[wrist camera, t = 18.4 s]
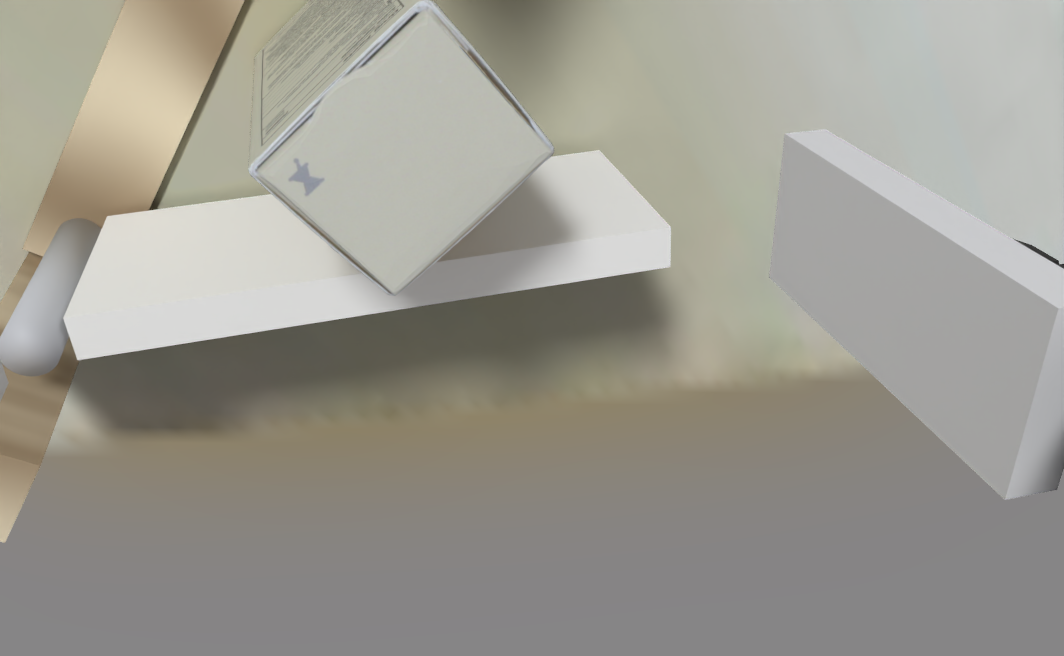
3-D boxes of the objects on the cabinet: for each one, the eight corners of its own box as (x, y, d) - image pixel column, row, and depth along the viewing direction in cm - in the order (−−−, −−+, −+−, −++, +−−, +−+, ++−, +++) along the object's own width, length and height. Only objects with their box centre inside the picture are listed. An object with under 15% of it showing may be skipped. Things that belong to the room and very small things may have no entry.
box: (351, 156, 30) (382, 313, 21) (248, 55, 28) (230, 178, 19) (474, 43, 30) (564, 153, 20) (377, -70, 27) (426, -7, 18)
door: (72, 288, 30) (19, 411, 24) (50, 220, 29) (-12, 330, 23) (600, 211, 33) (673, 303, 27) (599, 147, 32) (674, 227, 25)
